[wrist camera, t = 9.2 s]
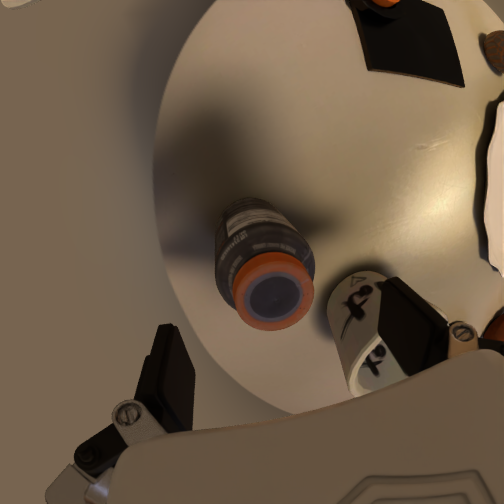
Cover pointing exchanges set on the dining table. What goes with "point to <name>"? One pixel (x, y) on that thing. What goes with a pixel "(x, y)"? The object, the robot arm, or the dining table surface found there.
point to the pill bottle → (263, 265)
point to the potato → (496, 329)
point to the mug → (363, 334)
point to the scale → (408, 40)
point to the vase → (495, 49)
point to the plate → (495, 193)
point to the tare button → (386, 2)
